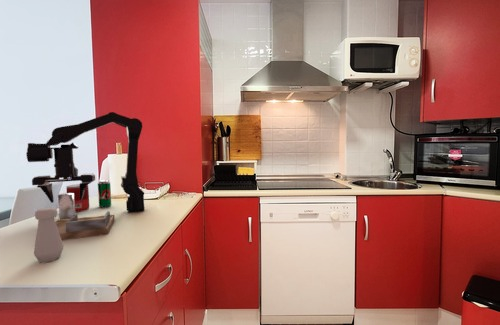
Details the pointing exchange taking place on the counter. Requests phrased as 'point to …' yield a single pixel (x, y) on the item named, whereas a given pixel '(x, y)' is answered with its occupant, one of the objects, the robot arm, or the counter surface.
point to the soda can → (104, 193)
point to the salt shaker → (47, 236)
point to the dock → (85, 226)
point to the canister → (66, 205)
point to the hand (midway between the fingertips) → (67, 201)
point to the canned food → (79, 204)
